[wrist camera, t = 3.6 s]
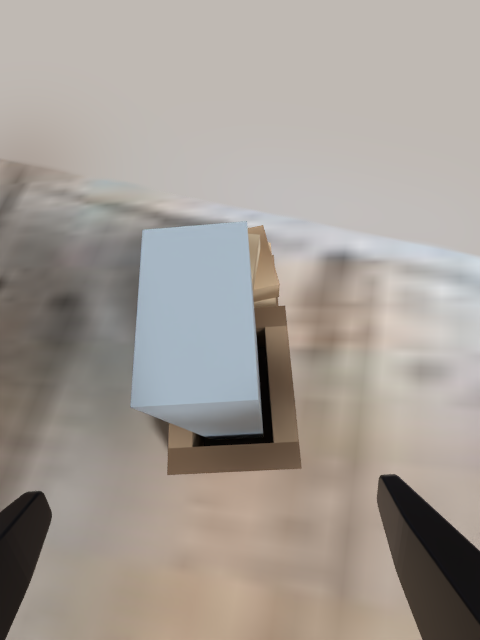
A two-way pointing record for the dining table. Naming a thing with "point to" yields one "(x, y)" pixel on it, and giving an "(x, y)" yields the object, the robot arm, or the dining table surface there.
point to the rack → (284, 451)
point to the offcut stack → (262, 269)
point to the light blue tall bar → (198, 331)
